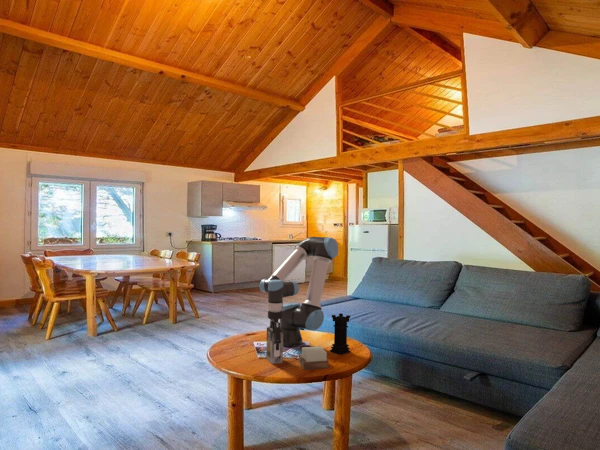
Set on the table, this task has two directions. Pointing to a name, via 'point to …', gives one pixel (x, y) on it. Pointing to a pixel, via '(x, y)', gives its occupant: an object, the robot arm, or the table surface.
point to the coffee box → (271, 347)
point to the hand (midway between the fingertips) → (274, 352)
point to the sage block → (314, 354)
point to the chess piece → (340, 335)
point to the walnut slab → (312, 364)
